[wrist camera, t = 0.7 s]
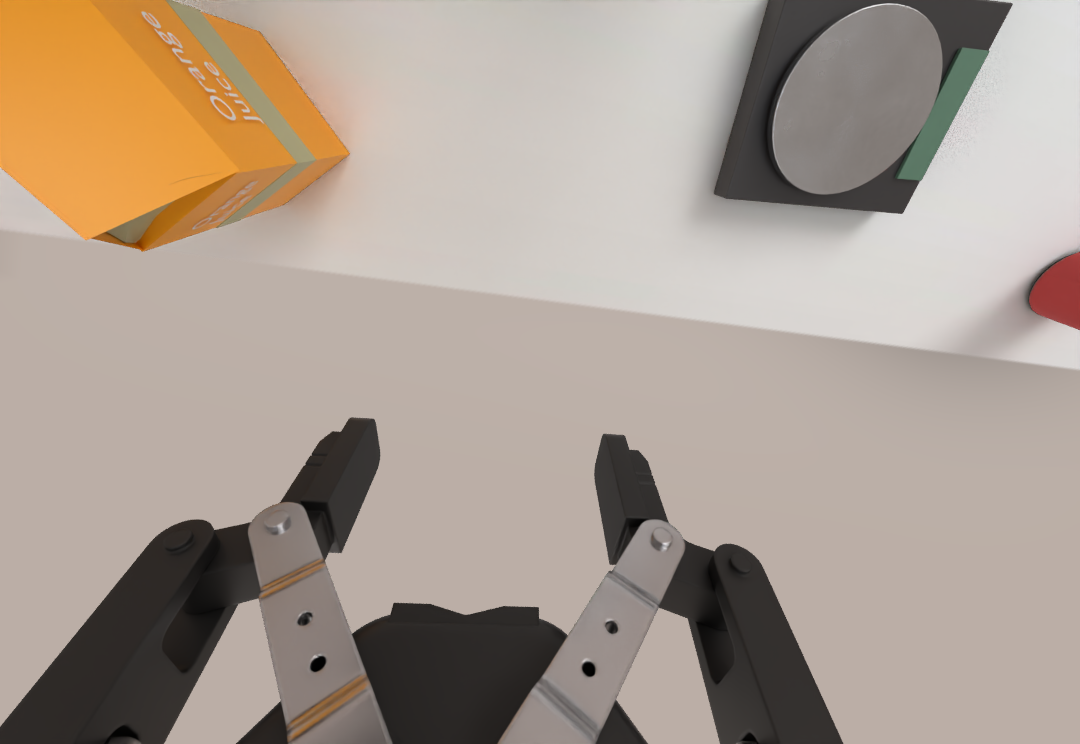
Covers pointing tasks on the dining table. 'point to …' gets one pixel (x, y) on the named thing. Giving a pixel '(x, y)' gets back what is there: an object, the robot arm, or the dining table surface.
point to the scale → (789, 25)
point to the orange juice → (151, 118)
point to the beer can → (1059, 292)
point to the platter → (855, 98)
